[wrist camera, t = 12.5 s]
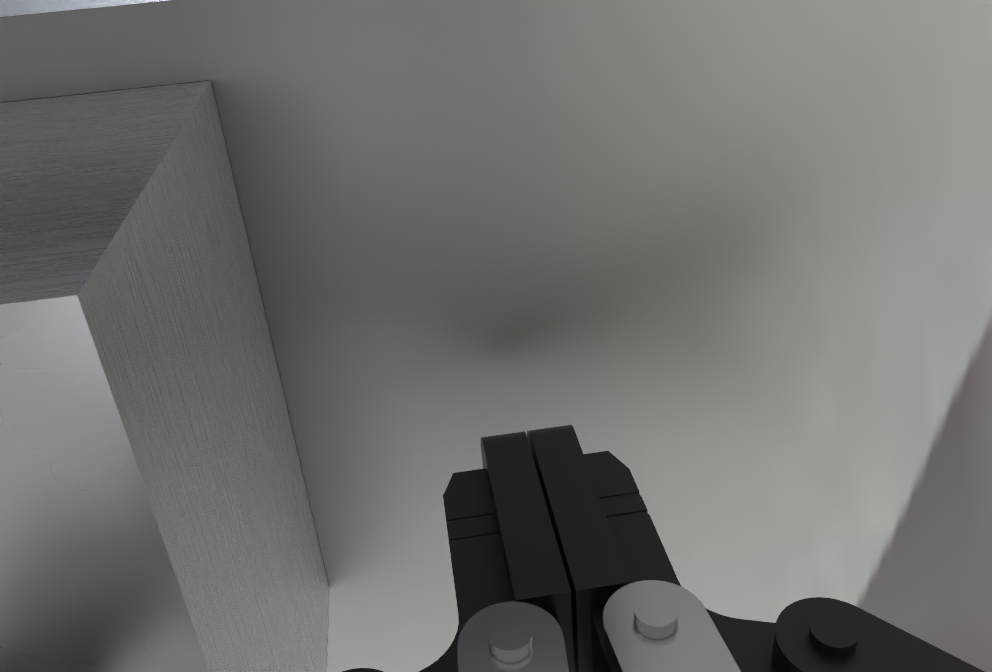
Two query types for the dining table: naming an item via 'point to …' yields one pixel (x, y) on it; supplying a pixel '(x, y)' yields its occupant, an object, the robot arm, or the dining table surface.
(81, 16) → the dining table surface
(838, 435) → the dining table surface
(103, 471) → the sliding jaw
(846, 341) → the dining table surface
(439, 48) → the dining table surface
